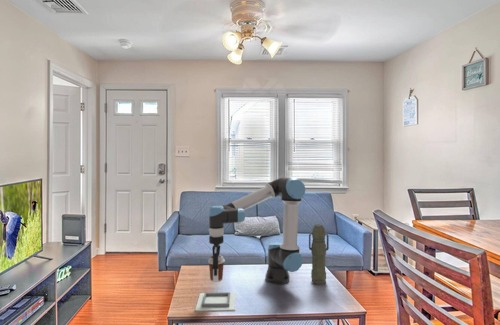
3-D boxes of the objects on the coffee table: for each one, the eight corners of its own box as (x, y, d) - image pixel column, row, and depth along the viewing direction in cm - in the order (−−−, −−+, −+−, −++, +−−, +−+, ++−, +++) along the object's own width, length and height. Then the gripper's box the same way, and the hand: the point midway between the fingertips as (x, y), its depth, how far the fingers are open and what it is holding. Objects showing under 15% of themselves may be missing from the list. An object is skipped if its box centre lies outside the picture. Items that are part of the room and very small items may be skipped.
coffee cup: (204, 281, 165) (204, 258, 165) (212, 275, 174) (212, 253, 174) (220, 283, 162) (220, 260, 162) (227, 277, 170) (227, 255, 170)
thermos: (330, 284, 190) (330, 226, 190) (310, 285, 190) (310, 227, 190) (326, 279, 199) (326, 223, 199) (307, 279, 199) (307, 224, 199)
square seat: (235, 293, 178) (235, 290, 178) (235, 310, 158) (235, 306, 158) (200, 294, 178) (200, 290, 178) (195, 311, 158) (195, 307, 158)
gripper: (211, 230, 178) (211, 270, 179) (207, 240, 157) (207, 286, 157) (224, 230, 179) (224, 270, 179) (222, 240, 157) (222, 285, 157)
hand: (216, 277), depth 168 cm, fingers closed on coffee cup, 9 cm apart
